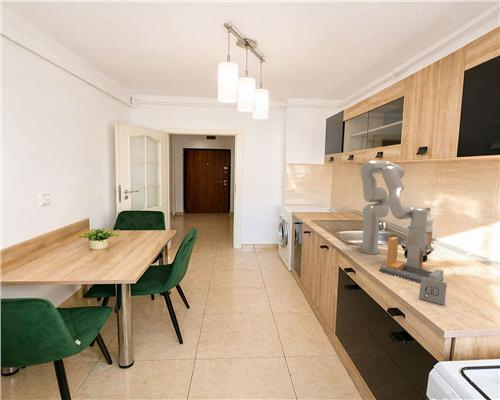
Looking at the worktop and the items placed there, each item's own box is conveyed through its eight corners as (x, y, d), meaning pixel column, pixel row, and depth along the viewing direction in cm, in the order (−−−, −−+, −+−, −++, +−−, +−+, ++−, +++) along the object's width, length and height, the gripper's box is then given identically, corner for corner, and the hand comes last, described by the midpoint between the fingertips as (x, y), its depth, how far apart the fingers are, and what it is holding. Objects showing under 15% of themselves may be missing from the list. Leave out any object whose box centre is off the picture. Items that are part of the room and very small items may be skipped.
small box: (418, 270, 156) (420, 247, 154) (405, 267, 160) (407, 244, 159) (422, 266, 161) (424, 244, 160) (410, 263, 166) (412, 242, 164)
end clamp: (385, 269, 154) (387, 239, 151) (392, 265, 160) (394, 236, 157) (396, 272, 149) (399, 241, 147) (403, 268, 155) (406, 238, 153)
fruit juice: (422, 249, 193) (426, 209, 189) (411, 245, 202) (415, 207, 198) (433, 248, 195) (438, 208, 191) (422, 244, 204) (426, 206, 200)
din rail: (379, 271, 154) (380, 262, 153) (390, 265, 163) (391, 256, 162) (434, 287, 134) (435, 277, 134) (443, 279, 144) (444, 270, 143)
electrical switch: (418, 299, 123) (420, 278, 122) (419, 295, 127) (422, 275, 126) (444, 306, 117) (446, 284, 117) (445, 302, 121) (447, 281, 121)
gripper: (398, 228, 162) (396, 257, 164) (433, 234, 149) (430, 265, 151) (403, 226, 167) (401, 254, 169) (437, 231, 154) (434, 262, 156)
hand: (415, 259), depth 160 cm, fingers open, 8 cm apart
